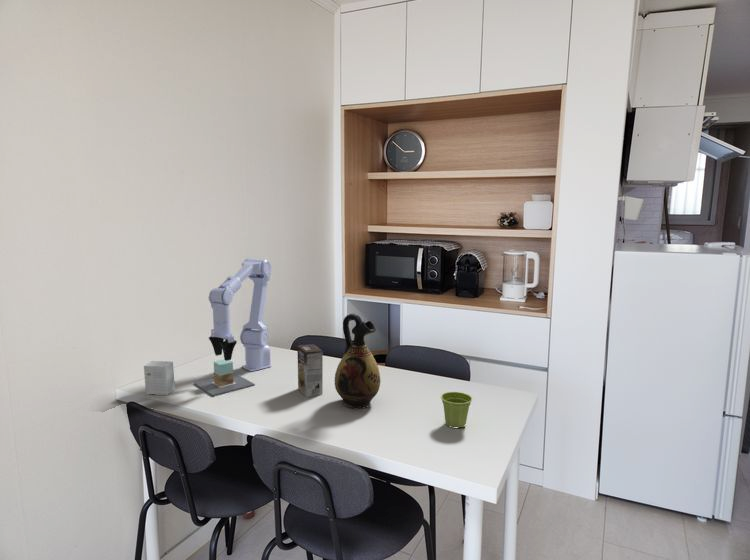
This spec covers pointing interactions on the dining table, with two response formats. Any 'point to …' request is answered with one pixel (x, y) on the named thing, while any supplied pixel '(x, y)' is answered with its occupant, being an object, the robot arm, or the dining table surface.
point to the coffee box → (310, 370)
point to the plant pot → (456, 408)
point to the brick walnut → (223, 379)
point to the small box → (159, 377)
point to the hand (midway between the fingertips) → (223, 357)
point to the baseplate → (216, 390)
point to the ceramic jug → (357, 366)
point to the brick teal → (223, 367)
